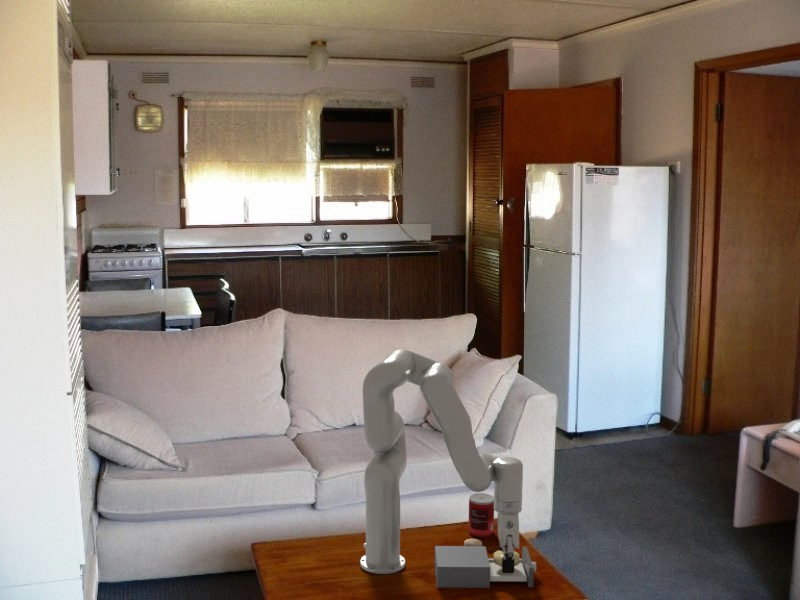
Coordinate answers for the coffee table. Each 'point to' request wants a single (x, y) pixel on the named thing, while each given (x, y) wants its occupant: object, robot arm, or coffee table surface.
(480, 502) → the canned food
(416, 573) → the coffee table surface
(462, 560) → the housing
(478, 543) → the beige rounded lump
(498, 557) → the cream domed disc
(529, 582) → the drawer
